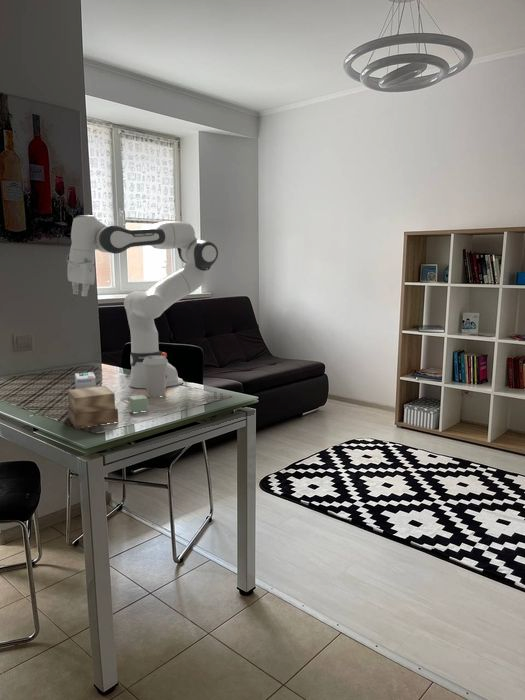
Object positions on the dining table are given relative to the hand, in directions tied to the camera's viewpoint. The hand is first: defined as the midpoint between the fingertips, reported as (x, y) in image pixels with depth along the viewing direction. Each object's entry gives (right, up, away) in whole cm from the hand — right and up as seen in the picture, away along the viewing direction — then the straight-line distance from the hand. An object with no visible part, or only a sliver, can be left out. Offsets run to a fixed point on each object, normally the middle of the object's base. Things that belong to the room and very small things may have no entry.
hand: (79, 295), depth 196 cm
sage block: (+27, -42, -19) cm, 53 cm away
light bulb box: (+6, -41, -10) cm, 42 cm away
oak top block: (+14, -39, -30) cm, 52 cm away
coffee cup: (+28, -39, +3) cm, 48 cm away
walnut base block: (+15, -44, -30) cm, 55 cm away
